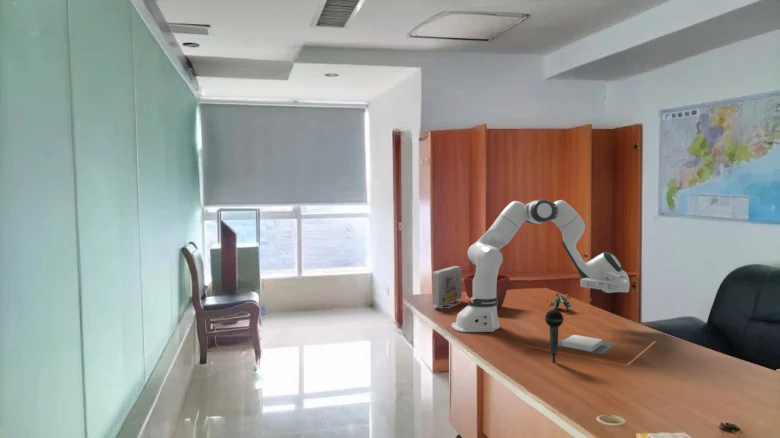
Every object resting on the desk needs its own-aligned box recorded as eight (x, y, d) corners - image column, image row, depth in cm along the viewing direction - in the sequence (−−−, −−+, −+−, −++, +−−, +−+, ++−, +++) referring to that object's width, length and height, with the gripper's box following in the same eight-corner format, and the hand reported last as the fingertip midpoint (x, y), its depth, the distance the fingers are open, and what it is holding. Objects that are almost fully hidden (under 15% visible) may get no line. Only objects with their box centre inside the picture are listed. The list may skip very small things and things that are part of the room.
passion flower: (567, 320, 292) (577, 305, 284) (547, 317, 290) (557, 302, 283) (561, 304, 300) (571, 289, 293) (542, 302, 299) (551, 286, 292)
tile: (573, 334, 236) (562, 341, 227) (602, 339, 229) (591, 346, 219) (573, 339, 237) (562, 346, 227) (602, 344, 229) (591, 352, 220)
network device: (452, 299, 321) (452, 265, 319) (466, 301, 316) (466, 266, 314) (429, 308, 300) (428, 271, 299) (443, 310, 295) (443, 273, 294)
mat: (569, 336, 243) (569, 335, 243) (616, 344, 231) (616, 343, 231) (552, 346, 230) (552, 345, 229) (601, 355, 217) (601, 354, 217)
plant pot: (510, 306, 303) (510, 275, 302) (497, 313, 287) (497, 281, 286) (477, 302, 313) (477, 272, 312) (463, 309, 297) (463, 278, 296)
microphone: (560, 366, 205) (561, 313, 204) (542, 363, 209) (542, 310, 208) (565, 361, 211) (565, 309, 210) (547, 358, 215) (547, 307, 213)
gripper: (586, 273, 258) (575, 277, 247) (633, 278, 244) (622, 282, 234) (586, 286, 258) (574, 291, 247) (632, 292, 245) (622, 297, 234)
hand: (598, 287), depth 241 cm, fingers closed
